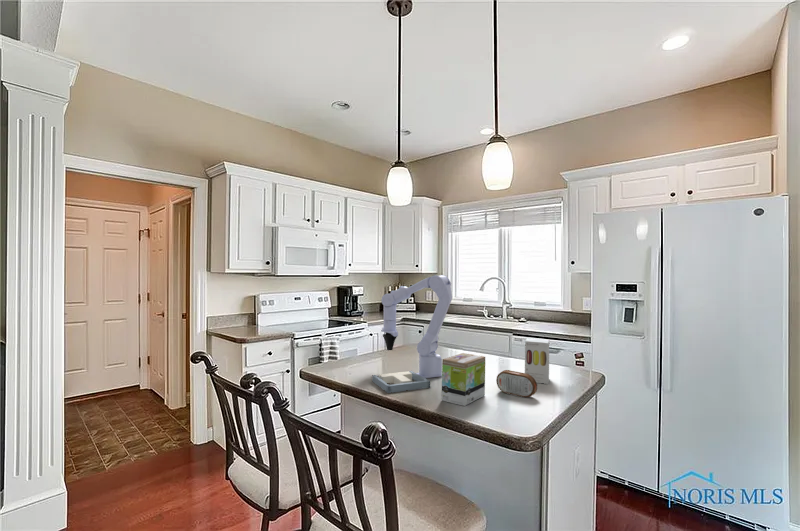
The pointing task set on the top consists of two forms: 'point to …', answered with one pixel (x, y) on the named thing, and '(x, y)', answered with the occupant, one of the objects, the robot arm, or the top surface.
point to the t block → (396, 377)
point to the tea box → (463, 378)
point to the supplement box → (537, 359)
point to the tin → (516, 383)
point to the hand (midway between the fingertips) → (389, 349)
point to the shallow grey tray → (403, 384)
